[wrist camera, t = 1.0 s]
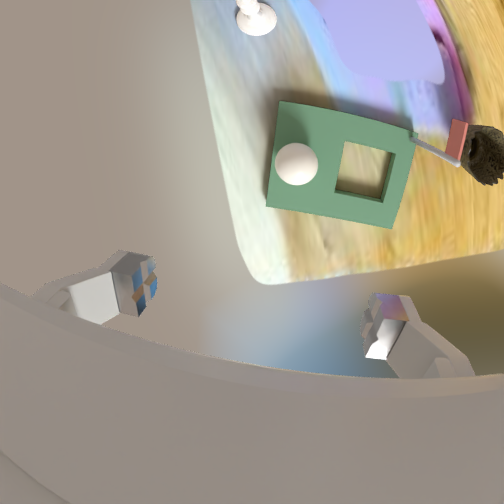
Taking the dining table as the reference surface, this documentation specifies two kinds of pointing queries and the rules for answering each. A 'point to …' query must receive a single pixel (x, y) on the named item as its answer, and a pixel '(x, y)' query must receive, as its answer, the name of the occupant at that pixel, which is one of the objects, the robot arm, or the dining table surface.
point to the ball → (296, 164)
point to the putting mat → (329, 157)
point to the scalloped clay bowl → (483, 154)
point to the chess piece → (255, 17)
